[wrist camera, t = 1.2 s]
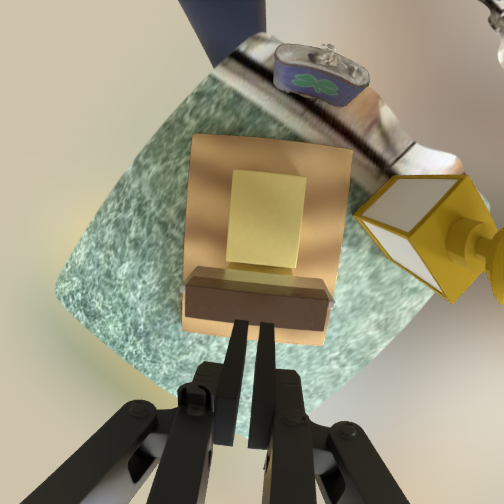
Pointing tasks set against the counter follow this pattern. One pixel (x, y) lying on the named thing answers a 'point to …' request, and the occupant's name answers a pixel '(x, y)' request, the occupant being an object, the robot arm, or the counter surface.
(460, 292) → the soap bottle
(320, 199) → the butter board
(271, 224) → the butter block
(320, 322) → the dough scraper
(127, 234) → the counter surface
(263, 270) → the butter pat
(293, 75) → the flask
